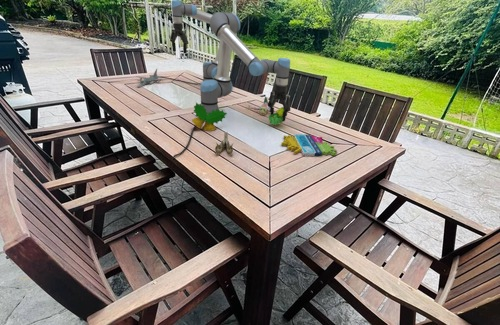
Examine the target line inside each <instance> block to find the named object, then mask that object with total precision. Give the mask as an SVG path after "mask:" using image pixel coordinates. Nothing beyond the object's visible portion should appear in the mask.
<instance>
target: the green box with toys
mask: <svg viewBox="0 0 500 325" xmlns="http://www.w3.org/2000/svg"><path fill="white" fill-rule="evenodd" d="M275 111H276V112H274V114H272V115H270V114H269V115H268V121H269V124H271V125H275V126H278V125H280V124H281V123H283V122H284V121H282V118H283V112H284V108H283V106H281V107H280V108H278V109H276V110H275Z"/></svg>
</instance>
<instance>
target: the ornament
mask: <svg viewBox="0 0 500 325" xmlns="http://www.w3.org/2000/svg"><path fill="white" fill-rule="evenodd" d="M219 110H220V108H219V109H217V110H216V111H214V110H212V112H211V113H208V112H206V109H204V106H201V103H198V102H195V105H194V106H193V112H194V113H195V118H192V119H191V122H192V123H193V125H194V126H196V127H197V128H198V129H202V130H203V131H206V132H212V131H213V132H214V131H215V130H216V126H215V124H218V123H219V122H223V119H226V115H227V114H228V113H227V112H224V110H223V109H221V110H220V111H219ZM207 113H208V115H207ZM214 123H215V124H214Z"/></svg>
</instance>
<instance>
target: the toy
mask: <svg viewBox="0 0 500 325" xmlns="http://www.w3.org/2000/svg"><path fill="white" fill-rule="evenodd" d="M274 98H275V97H273V100H274ZM273 100H272V102H273ZM268 102H269V99H268V97H267V96H266V95H265V96H264V99H263V104H261V105H260V107H251V106H250V105H248V106H246V110H254V111H258V112H257V113H258V114H259V115H261V116H265V115H267V112H269V113H271V112H270V107H269V106H268ZM276 111H277V110H274V113H276Z"/></svg>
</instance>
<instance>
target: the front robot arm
mask: <svg viewBox="0 0 500 325" xmlns="http://www.w3.org/2000/svg"><path fill="white" fill-rule="evenodd" d="M209 26H210V29H211V31H212V33H213V34H214V36H215V37H216V38H218V40H219V45H218V48H219V55H218V66H217V75H216V76H215V77H214V80H205V81H203V80H202V81H201V82H200V88H199V90H200V104H201V106H204V109H206V112H208V113H211V112H212V110H214V111H216V110H217V109H219V111H221V110H220V108H219V102H218V99H220V98H223V97H228V95H230V94H231V93H232V91H233V88H234V87H233V82H232V81H231V80H232V79H231V77H230V71H231V70H230V69H231V60H232V52H234V53H235V55H236V57H237V58H239V60H241V62H243V63H244V64H245V65H246V67H247V68H248V71H249V74H250V75H251V76H253V77H259V76H262V75H265V74H275V75H276V76H275V77H276V78H275V86H274V91H271V92H270V95H269V99H268V106H269V110H270V112H269V113H270V114H269V115H272V114H274V113H275V112H274V111H275V105H276V103H277V101H278V100H280V102H281V103H282V107H283V108H284V112H283V118H282V121H283V122H285V121H286V117H288V112H291V95H289V94H287V92H288V84H289V75H290V68H291V59H290V58H287V57H278V59H277V60H273V59H268V58H262V59H260V58H259V57H257V56H256V54H255V53H254V52H253V51H252V50H251V49H250V48H249V47H248V46H247V45H246V44H245V43H244V41H243V40H242V39H240V38H239V37H238V35H237V34H238V32H239V31H240V30H241V20H240V18H239V17H238V16H237V14H235V13H232V12H221V11H217V12H214V13H213V14H212V17H211V19H210V24H209ZM273 98H274V100H273ZM272 100H273V102H272ZM208 113H207V115H208ZM196 127H197V126H196V125H194V126H193V128H192V130H191V132H190V134H189V139H188V142H187V144H186V146H185V147H184V149H183V150H181V151H180V152H179V153H176V154H174V155H173V156H172V158H171V161H174V159H175V158H176V157H177V156H180V155H182V154H183V153H184V152H185V151H186V150H187V148H188V147H189V145H190V143H191V140H192V136H193V132H194V131H195V129H196Z"/></svg>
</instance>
